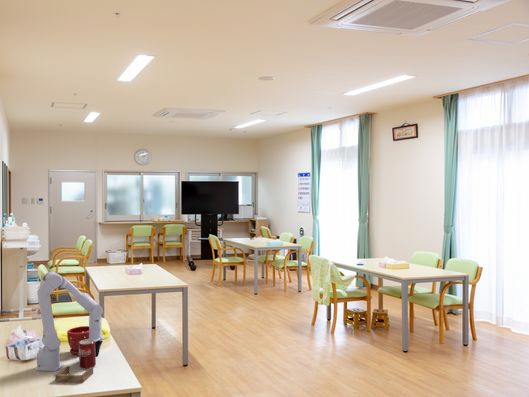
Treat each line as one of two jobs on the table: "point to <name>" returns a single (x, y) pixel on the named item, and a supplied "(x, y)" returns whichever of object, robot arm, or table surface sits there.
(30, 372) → the table surface
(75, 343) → the plant pot
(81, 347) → the soda can
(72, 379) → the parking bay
